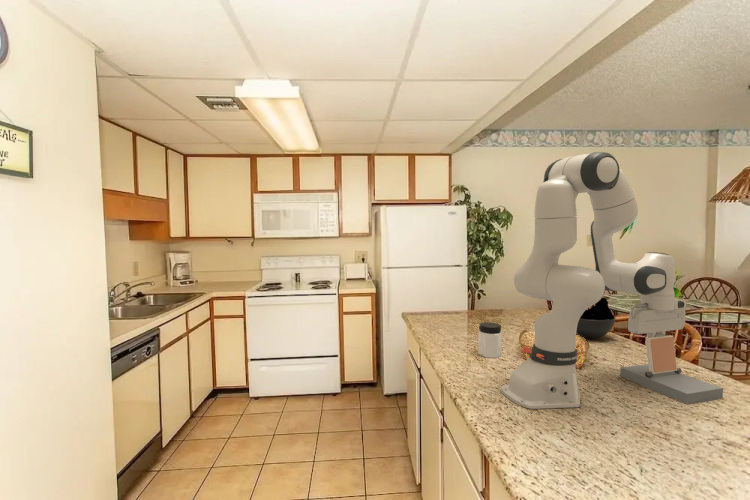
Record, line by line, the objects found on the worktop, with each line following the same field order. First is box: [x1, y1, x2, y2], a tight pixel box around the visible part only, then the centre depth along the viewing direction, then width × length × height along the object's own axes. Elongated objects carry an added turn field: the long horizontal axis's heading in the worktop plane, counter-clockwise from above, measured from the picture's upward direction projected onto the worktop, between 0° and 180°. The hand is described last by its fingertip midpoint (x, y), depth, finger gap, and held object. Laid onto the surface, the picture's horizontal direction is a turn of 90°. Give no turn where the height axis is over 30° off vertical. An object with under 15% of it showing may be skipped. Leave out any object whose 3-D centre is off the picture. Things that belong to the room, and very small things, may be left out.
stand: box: [619, 363, 724, 405], centre depth 117 cm, size 14×21×5 cm, turn 15°
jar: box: [477, 321, 503, 359], centre depth 147 cm, size 9×8×12 cm
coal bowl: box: [576, 297, 616, 339], centre depth 171 cm, size 20×20×19 cm
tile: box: [645, 334, 678, 374], centre depth 119 cm, size 10×11×1 cm
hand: (655, 344), depth 121 cm, fingers closed, pressing on tile
